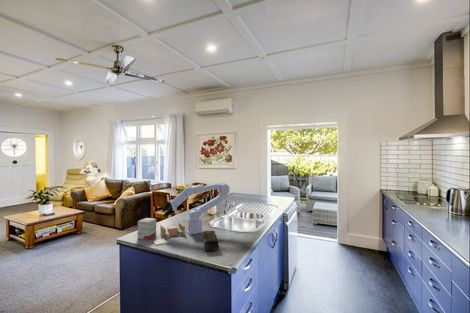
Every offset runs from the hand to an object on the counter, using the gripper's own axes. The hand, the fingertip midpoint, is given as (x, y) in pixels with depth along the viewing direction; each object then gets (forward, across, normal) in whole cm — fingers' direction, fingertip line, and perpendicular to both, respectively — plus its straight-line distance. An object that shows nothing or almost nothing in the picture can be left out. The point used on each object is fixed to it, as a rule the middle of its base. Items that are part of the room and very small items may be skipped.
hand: (163, 213), depth 154 cm
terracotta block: (+5, +6, +14) cm, 16 cm away
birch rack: (+5, +6, +14) cm, 16 cm away
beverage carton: (-12, +33, +21) cm, 41 cm away
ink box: (+17, +5, +3) cm, 18 cm away
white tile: (+10, +17, +5) cm, 20 cm away
